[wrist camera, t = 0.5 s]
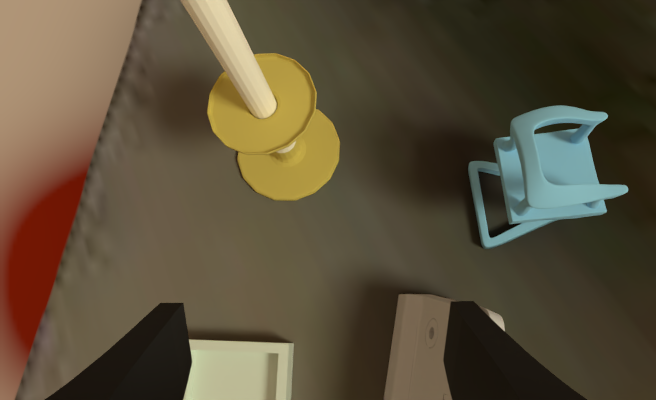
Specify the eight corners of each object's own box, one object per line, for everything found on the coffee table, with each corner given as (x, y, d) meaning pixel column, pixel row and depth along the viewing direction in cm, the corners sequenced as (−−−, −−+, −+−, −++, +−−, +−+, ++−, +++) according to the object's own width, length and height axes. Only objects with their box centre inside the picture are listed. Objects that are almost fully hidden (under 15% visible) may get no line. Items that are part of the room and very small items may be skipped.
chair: (582, 239, 39) (664, 199, 28) (481, 249, 40) (519, 214, 28) (562, 154, 41) (629, 84, 30) (466, 165, 42) (496, 100, 31)
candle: (220, 138, 46) (4, -112, 20) (307, 86, 46) (202, -225, 21) (268, 221, 43) (84, 51, 17) (360, 164, 43) (315, -84, 18)
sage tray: (287, 461, 37) (282, 468, 35) (180, 453, 38) (169, 459, 36) (293, 343, 40) (288, 343, 38) (192, 339, 41) (183, 339, 39)
